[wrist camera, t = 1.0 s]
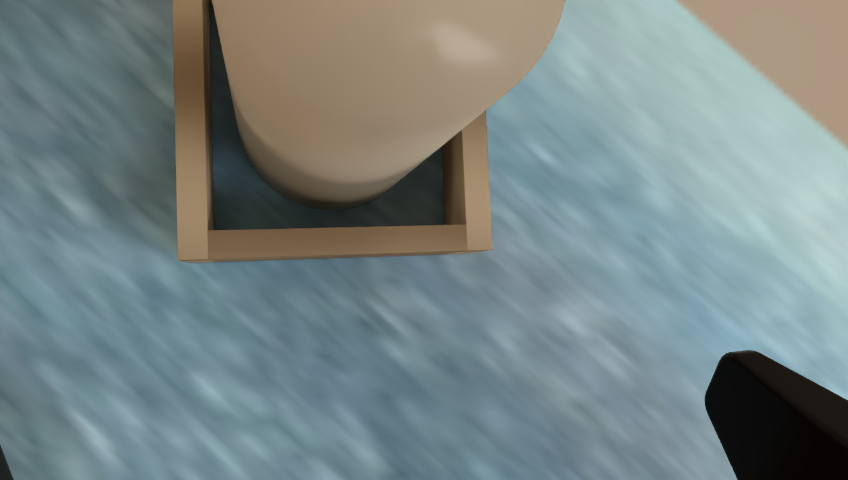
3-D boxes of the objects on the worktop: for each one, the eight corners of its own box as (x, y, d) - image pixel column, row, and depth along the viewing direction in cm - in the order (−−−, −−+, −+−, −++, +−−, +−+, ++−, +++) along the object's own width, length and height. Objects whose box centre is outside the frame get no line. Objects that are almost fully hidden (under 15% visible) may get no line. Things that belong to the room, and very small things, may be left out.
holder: (469, 253, 23) (492, 249, 21) (188, 263, 21) (178, 259, 19) (457, -7, 24) (478, -40, 21) (182, -22, 22) (171, -61, 19)
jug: (421, 208, 23) (579, 127, 11) (239, 211, 22) (204, 123, 10) (412, -15, 23) (553, -314, 12) (233, -25, 22) (193, -375, 10)
